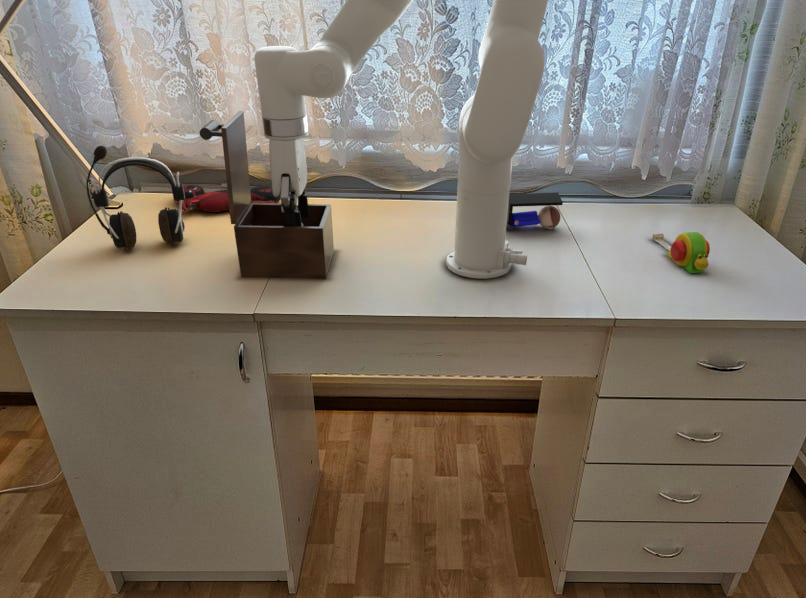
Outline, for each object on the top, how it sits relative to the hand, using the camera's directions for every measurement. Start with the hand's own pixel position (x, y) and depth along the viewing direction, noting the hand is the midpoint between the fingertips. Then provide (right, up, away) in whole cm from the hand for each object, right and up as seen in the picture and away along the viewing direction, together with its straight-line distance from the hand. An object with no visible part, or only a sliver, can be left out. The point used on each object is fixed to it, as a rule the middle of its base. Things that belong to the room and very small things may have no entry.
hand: (297, 224), depth 122 cm
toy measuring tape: (+75, -5, +11) cm, 76 cm away
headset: (-31, -2, +10) cm, 33 cm away
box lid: (-9, +9, -6) cm, 14 cm away
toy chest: (-2, -7, +4) cm, 8 cm away
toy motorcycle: (-23, +9, +29) cm, 38 cm away
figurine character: (+46, +4, +23) cm, 51 cm away
